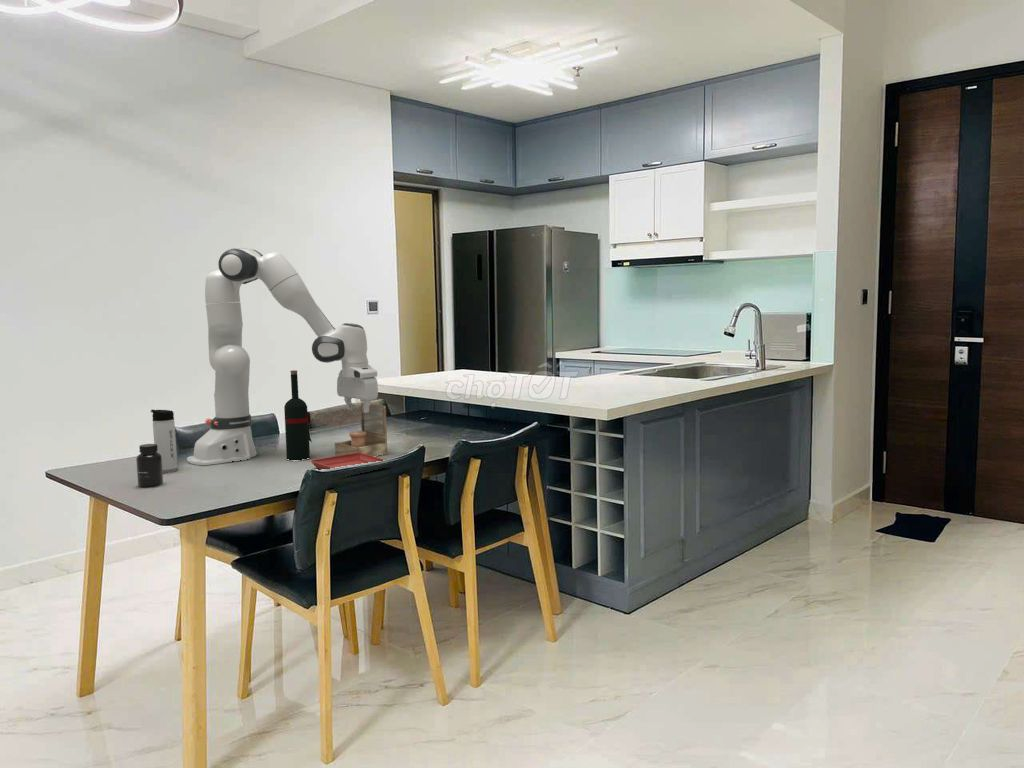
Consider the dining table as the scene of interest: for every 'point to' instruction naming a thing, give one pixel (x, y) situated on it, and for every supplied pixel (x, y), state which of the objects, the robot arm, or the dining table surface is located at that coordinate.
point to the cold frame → (369, 433)
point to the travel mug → (165, 438)
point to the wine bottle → (296, 424)
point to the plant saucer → (344, 460)
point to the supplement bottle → (149, 466)
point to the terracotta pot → (358, 438)
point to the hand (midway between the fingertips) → (358, 411)
